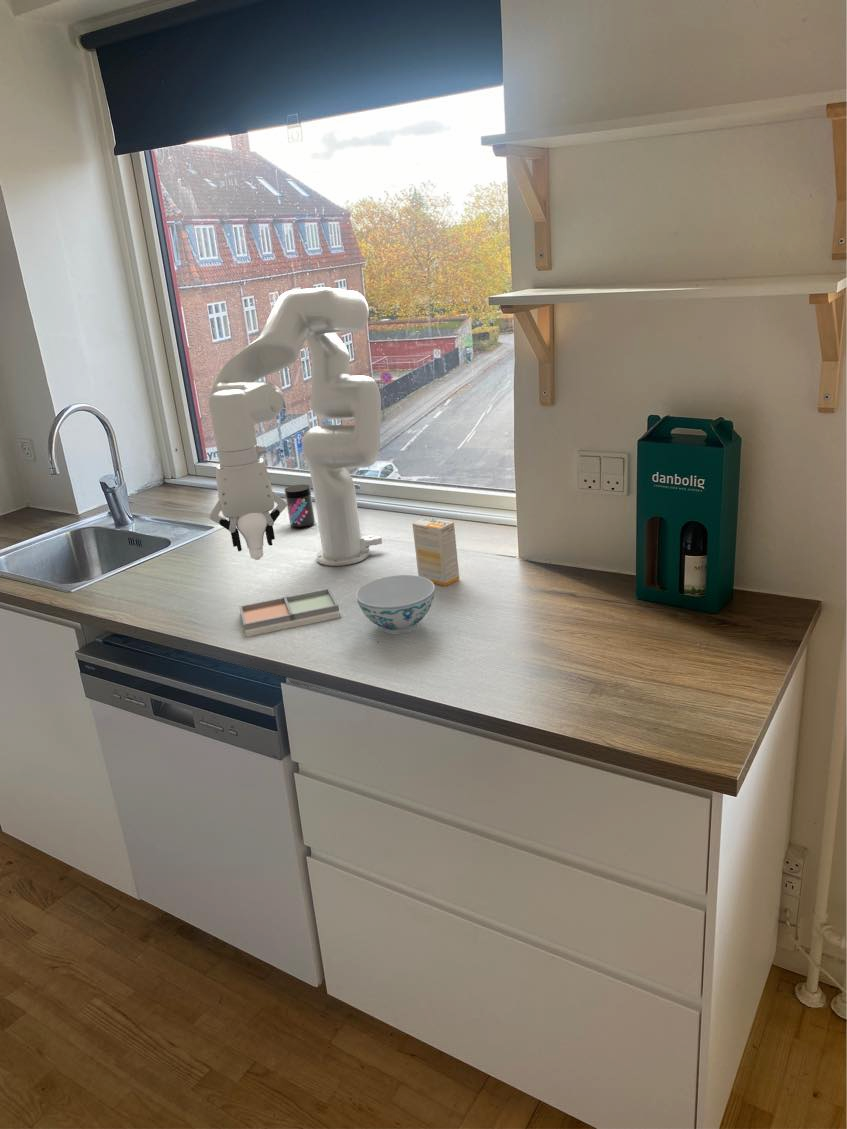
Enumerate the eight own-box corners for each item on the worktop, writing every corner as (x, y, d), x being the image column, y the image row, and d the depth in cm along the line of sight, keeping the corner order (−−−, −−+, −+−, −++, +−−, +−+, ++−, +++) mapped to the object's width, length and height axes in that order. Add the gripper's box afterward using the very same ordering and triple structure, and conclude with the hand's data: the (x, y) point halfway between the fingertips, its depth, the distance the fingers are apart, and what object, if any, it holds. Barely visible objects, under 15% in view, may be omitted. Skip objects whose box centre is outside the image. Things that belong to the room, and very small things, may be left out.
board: (329, 595, 185) (328, 586, 184) (341, 617, 174) (339, 607, 173) (240, 613, 181) (238, 604, 180) (246, 636, 170) (244, 626, 169)
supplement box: (460, 579, 187) (455, 521, 182) (445, 587, 183) (440, 528, 179) (432, 572, 192) (426, 516, 187) (417, 579, 189) (411, 522, 184)
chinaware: (345, 628, 169) (340, 592, 166) (407, 604, 177) (403, 569, 174) (390, 652, 158) (385, 613, 155) (454, 625, 166) (450, 587, 163)
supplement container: (285, 526, 233) (279, 489, 229) (306, 519, 237) (301, 483, 233) (299, 531, 228) (293, 493, 224) (320, 524, 232) (314, 486, 228)
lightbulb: (247, 567, 168) (238, 513, 164) (238, 558, 173) (229, 506, 169) (277, 560, 170) (269, 507, 166) (267, 551, 175) (259, 499, 172)
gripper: (281, 445, 169) (295, 533, 176) (191, 459, 165) (209, 548, 172) (286, 453, 163) (300, 544, 169) (193, 468, 159) (211, 560, 165)
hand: (254, 545), depth 171 cm, fingers closed on lightbulb, 5 cm apart
